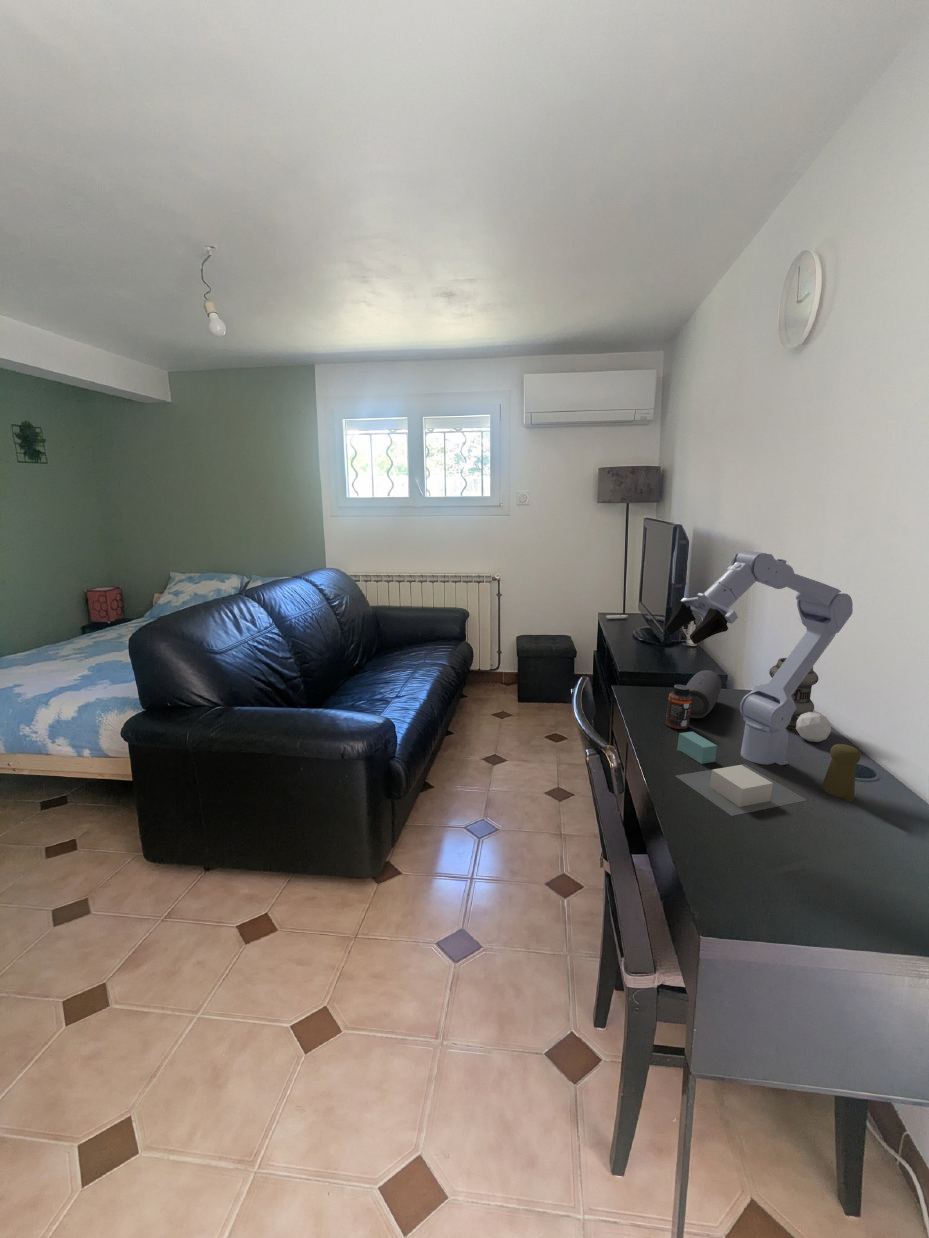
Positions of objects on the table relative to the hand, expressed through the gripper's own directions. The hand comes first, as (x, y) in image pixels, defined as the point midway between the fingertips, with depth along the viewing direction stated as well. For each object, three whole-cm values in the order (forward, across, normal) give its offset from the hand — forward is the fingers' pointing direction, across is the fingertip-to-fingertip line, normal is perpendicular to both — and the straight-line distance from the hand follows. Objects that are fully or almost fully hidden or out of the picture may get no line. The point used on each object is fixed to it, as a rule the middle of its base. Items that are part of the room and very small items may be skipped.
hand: (679, 636), depth 113 cm
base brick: (+13, +12, +30) cm, 35 cm away
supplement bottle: (+4, -22, +39) cm, 45 cm away
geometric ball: (-18, -5, +58) cm, 61 cm away
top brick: (+11, -5, +34) cm, 36 cm away
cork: (-3, +17, +45) cm, 48 cm away
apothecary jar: (-21, -16, +61) cm, 66 cm away
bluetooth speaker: (-7, -30, +49) cm, 58 cm away
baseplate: (+12, +10, +32) cm, 36 cm away
